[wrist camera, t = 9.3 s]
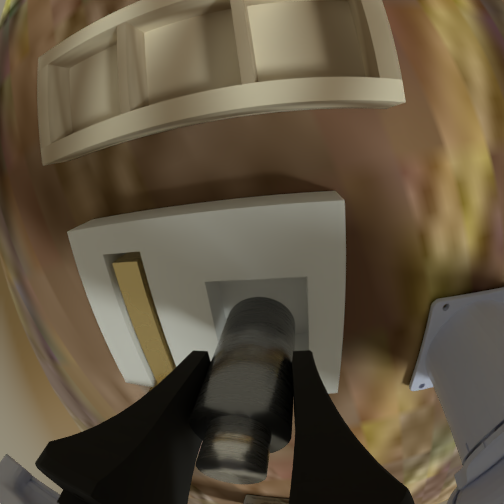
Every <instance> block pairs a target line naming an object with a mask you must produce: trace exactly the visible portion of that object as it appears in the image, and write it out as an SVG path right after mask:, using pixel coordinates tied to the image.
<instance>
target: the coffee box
mask: <svg viewBox="0 0 504 504" xmlns="http://www.w3.org/2000/svg"><path fill="white" fill-rule="evenodd" d="M243 504H289V499H284V498H273V497H263V496H255V495H248V494H247V495H246V497H245V500H244V503H243Z"/></svg>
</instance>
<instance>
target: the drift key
mask: <svg viewBox="0 0 504 504" xmlns="http://www.w3.org/2000/svg"><path fill="white" fill-rule="evenodd" d="M112 264H113V267H114V271H115V274H116V277H117V280H118V284H119V287H120V290H121V293H122V296H123V299H124V302H125V305H126V307H127V310H128V313H129V316H130V319H131V321H132V324H133V327H134V329H135V332H136V334H137V337H138V339H139V342H140V344H141V347H142V349H143V352H144V354H145V356H146V359H147V361H148V363H149V365H150V368H151V370H152V372H153V374H154V377H155V379H156V381H157V382H156V384H155V386H156V385H158V384H159V383H160V382H161V381H162V380H163V379H164V378H165V377H166V376H167V375H168V374H170V373H171V372H172V371H173V370H174V369H175V368H176V365H175V362H174V359H173V357H172V354H171V351H170V348H169V346H168V343H167V340H166V337H165V334H164V331H163V328H162V325H161V322H160V319H159V316H158V313H157V310H156V307H155V304H154V300H153V297H152V294H151V290H150V287H149V283H148V280H147V276H146V273H145V269H144V265H143V262H142V258H141V254H140V251H139V252H127V253H125V254H124V255H122V256H121V257H120V258H118V259H117V260H116V261H114V262H113V263H112ZM155 386H154V387H155ZM154 387H151V388H150V390H152V389H153V388H154ZM150 390H149V391H150Z"/></svg>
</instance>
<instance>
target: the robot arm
mask: <svg viewBox="0 0 504 504" xmlns="http://www.w3.org/2000/svg"><path fill="white" fill-rule="evenodd" d="M445 304H447V305H446V306H445V307H444V308H443V306H444V305H445ZM210 363H211V361H210V358H209V354H208V351H194V350H193V351H192V352H191V353H190V354H189V355H188V356H187V357H186V358H185V359H184V360H183V361H182V362H181V363H180V364H179V365H178V366H177V367H176V368H175V369H174V370H173V371H172V372H171V373H170V374H168V375H167V376H166V377H165V378H164V379H163V380H162V381H161V382H160V383H159V384H158V385H156V386H155V387H154V388H153V389H152V390H150V391H149V392H148V393H147V394H146V395H144V396H143V397H142V398H141V399H139V400H138V401H137V402H135V403H134V404H133V405H131V406H130V407H128V408H127V409H125V410H124V411H122V412H121V413H119V414H117V415H116V416H114V417H112V418H110V419H108V420H106V421H105V422H103V423H101V424H99V425H97V426H95V427H92V428H90V429H88V430H85V431H83V432H80V433H78V434H75V435H72V436H69V437H65V438H62V439H58V440H54V441H50V442H49V443H48V445H47V446H46V448H45V449H44V451H43V452H42V454H41V455H40V457H39V458H38V460H37V461H36V463H35V464H36V466H37V468H38V469H39V470H40V471H41V472H42V473H43V474H45V475H46V476H47V477H48V478H49V479H51V480H52V481H53V482H54V483H56V484H57V485H58V486H60V487H61V488H62V489H63V491H62V493H61V495H60V494H58V493H57V492H55V491H54V490H52V489H50V488H49V487H48V486H46V485H45V484H43V483H42V482H40V481H39V480H37V479H36V478H35V477H33V476H32V475H31V474H30V473H29V472H28V471H27V470H26V469H24V468H23V467H22V466H21V465H20V464H18V463H17V462H16V461H15V460H14V459H12V458H11V457H10V456H9V455H7V454H6V455H5V456H4V458H3V459H2V461H1V462H0V503H1V504H187V503H188V496H189V491H190V485H191V480H192V475H193V471H194V466H195V462H196V458H197V455H198V451H199V448H200V446H201V443H202V440H201V439H200V438H199V437H198V436H197V435H196V434H195V433H194V432H193V430H192V429H191V426H190V423H189V419H190V416H191V413H192V411H193V408H194V405H195V403H196V400H197V397H198V395H199V392H200V389H201V387H202V384H203V381H204V379H205V376H206V374H207V371H208V368H209V366H210ZM292 374H293V393H294V394H293V396H294V417H295V446H294V459H293V470H292V480H291V489H290V497H289V504H414V501H413V498H412V496H411V494H410V492H409V490H408V488H407V487H406V486H404V485H403V484H402V483H401V482H399V481H398V480H397V479H396V478H394V477H393V476H392V475H391V474H390V473H389V472H388V471H387V470H386V469H385V468H383V467H382V466H381V465H380V464H379V463H378V462H377V461H376V460H375V459H374V457H373V456H372V455H371V454H370V453H369V452H368V451H367V450H366V449H365V447H364V446H363V445H362V444H361V443H360V442H359V440H358V439H357V438H356V437H355V435H354V434H353V433H352V431H351V430H350V429H349V427H348V426H347V424H346V423H345V422H344V420H343V418H342V417H341V415H340V414H339V412H338V411H337V409H336V407H335V405H334V404H333V402H332V400H331V398H330V396H329V395H328V393H327V390H326V388H325V386H324V384H323V382H322V380H321V378H320V375H319V373H318V370H317V367H316V365H315V361H314V357H313V352H311V351H310V350H305V351H293V357H292ZM431 387H434V389H435V391H436V394H437V396H438V398H439V401H440V403H441V406H442V408H443V411H444V413H445V416H446V419H447V421H448V424H449V427H450V429H451V432H452V435H453V438H454V441H455V444H456V447H457V450H458V453H459V456H460V459H461V462H462V465H463V467H462V468H461V469H460V470H459V471H458V472H457V473H456V474H455V479H456V483H457V487H456V489H455V490H454V491H453V492H452V494H451V496H450V497H449V500H448V502H447V504H504V287H502V288H497V289H492V290H486V291H481V292H476V293H470V294H464V295H458V296H452V297H445V298H439V299H436V300H435V301H434V302H433V303H432V305H431V308H430V313H429V317H428V322H427V326H426V330H425V334H424V338H423V342H422V345H421V349H420V353H419V356H418V359H417V363H416V366H415V369H414V372H413V375H412V378H411V381H410V384H409V388H410V390H411V391H417V390H422V389H426V388H431Z"/></svg>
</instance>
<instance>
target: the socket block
mask: <svg viewBox="0 0 504 504" xmlns="http://www.w3.org/2000/svg"><path fill="white" fill-rule="evenodd" d="M67 234H68V237H69V241H70V245H71V248H72V252H73V255H74V258H75V262H76V265H77V268H78V271H79V274H80V277H81V280H82V283H83V286H84V289H85V291H86V294H87V297H88V300H89V302H90V305H91V307H92V310H93V312H94V315H95V317H96V320H97V322H98V325H99V327H100V329H101V332H102V334H103V336H104V338H105V341H106V343H107V345H108V347H109V349H110V351H111V353H112V356H113V358H114V360H115V362H116V364H117V366H118V368H119V370H120V372H121V373H122V375H123V377H124V379H125V381H126V383H131V384H137V385H143V386H149V387H154V386H155V384H156V382H157V381H156V379H155V377H154V374H153V372H152V370H151V368H150V365H149V363H148V361H147V359H146V356H145V354H144V352H143V349H142V347H141V344H140V342H139V339H138V337H137V334H136V332H135V329H134V327H133V324H132V321H131V319H130V316H129V313H128V310H127V307H126V305H125V302H124V299H123V296H122V293H121V290H120V287H119V284H118V280H117V277H116V274H115V271H114V267H113V264H112V263H113V262H114V261H116V260H117V259H118V258H120V257H121V256H122V255H124V254H125V253H127V252H139V251H140V254H141V258H142V262H143V265H144V269H145V273H146V276H147V280H148V283H149V287H150V290H151V294H152V297H153V300H154V304H155V307H156V310H157V313H158V316H159V319H160V322H161V325H162V328H163V331H164V334H165V337H166V340H167V343H168V346H169V348H170V351H171V354H172V357H173V359H174V362H175V365H176V367H177V366H178V365H179V364H180V363H181V362H182V361H183V360H184V359H185V358H186V357H187V356H188V355H189V354H190V353H191V352H192V351H193V350H194V351H208V354H209V358H210V361H211V360H212V358H213V355H214V352H215V350H216V347H217V344H218V342H219V339H220V336H221V334H222V331H223V329H224V326H225V323H226V321H227V318H228V315H229V313H230V311H231V309H232V308H233V307H234V306H235V305H236V304H237V303H239V302H240V301H242V300H244V299H247V298H251V297H267V298H271V299H274V300H276V301H278V302H280V303H282V304H283V305H285V306H286V307H287V308H288V309H289V310H290V312H291V313H292V315H293V317H294V320H295V351H305V350H310V351H311V352H313V357H314V361H315V365H316V367H317V370H318V373H319V375H320V378H321V380H322V382H323V384H324V386H325V388H326V390H327V393H338V385H339V376H340V366H341V355H342V343H343V329H344V311H345V285H346V225H345V200H344V199H343V198H342V197H341V196H340V195H339V194H338V193H337V192H336V191H320V192H305V193H292V194H279V195H268V196H257V197H247V198H237V199H228V200H219V201H210V202H202V203H194V204H187V205H179V206H172V207H165V208H158V209H151V210H145V211H138V212H132V213H126V214H120V215H114V216H108V217H103V218H97V219H92V220H90V221H88V222H86V223H84V224H82V225H80V226H78V227H76V228H74V229H71V230H69V231H67Z"/></svg>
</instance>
